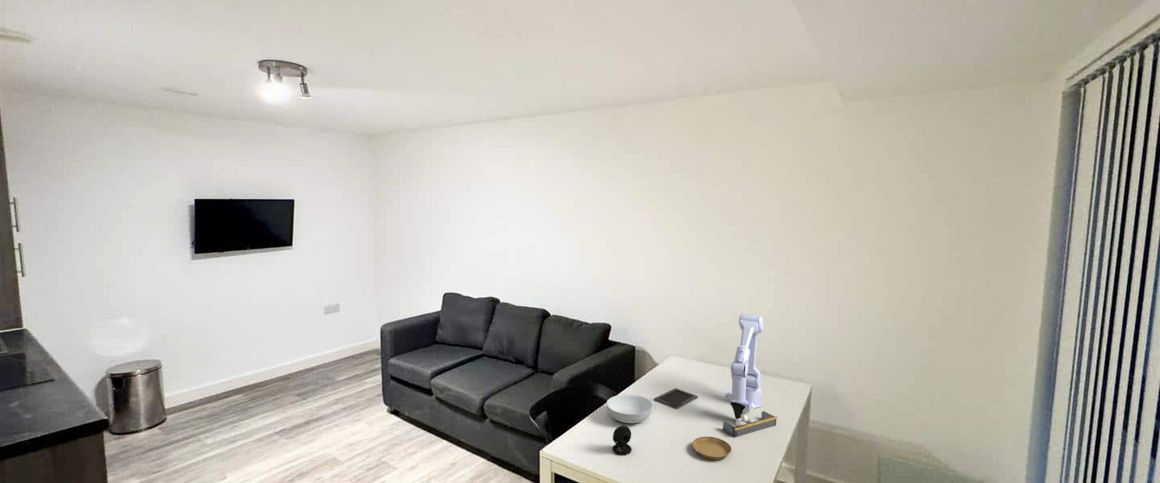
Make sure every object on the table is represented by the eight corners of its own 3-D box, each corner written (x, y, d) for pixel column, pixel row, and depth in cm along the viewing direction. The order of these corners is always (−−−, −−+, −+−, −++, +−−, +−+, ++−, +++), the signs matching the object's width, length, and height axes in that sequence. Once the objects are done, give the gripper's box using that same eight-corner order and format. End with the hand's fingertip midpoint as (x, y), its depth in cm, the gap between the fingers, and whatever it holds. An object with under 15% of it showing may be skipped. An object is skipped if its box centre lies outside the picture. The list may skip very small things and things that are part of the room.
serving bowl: (658, 412, 214) (658, 398, 213) (644, 433, 195) (644, 417, 194) (615, 404, 222) (615, 390, 222) (599, 423, 203) (599, 408, 203)
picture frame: (676, 410, 217) (697, 399, 229) (676, 406, 217) (697, 395, 229) (653, 401, 227) (675, 391, 239) (654, 397, 227) (675, 387, 239)
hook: (768, 418, 197) (756, 410, 195) (749, 437, 200) (738, 430, 198) (760, 406, 204) (749, 399, 203) (743, 425, 207) (731, 418, 205)
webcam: (617, 457, 176) (617, 432, 175) (608, 448, 183) (608, 423, 182) (635, 453, 179) (635, 428, 179) (626, 443, 186) (626, 420, 185)
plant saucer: (725, 467, 170) (725, 460, 170) (686, 455, 178) (686, 449, 178) (735, 449, 183) (735, 442, 182) (698, 439, 191) (699, 432, 190)
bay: (763, 418, 208) (764, 410, 207) (776, 425, 201) (777, 416, 201) (722, 430, 197) (723, 421, 197) (735, 438, 191) (735, 428, 190)
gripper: (720, 384, 209) (719, 413, 210) (744, 396, 196) (743, 427, 197) (732, 381, 212) (731, 410, 213) (756, 393, 199) (755, 424, 200)
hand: (738, 418), depth 205 cm, fingers closed
